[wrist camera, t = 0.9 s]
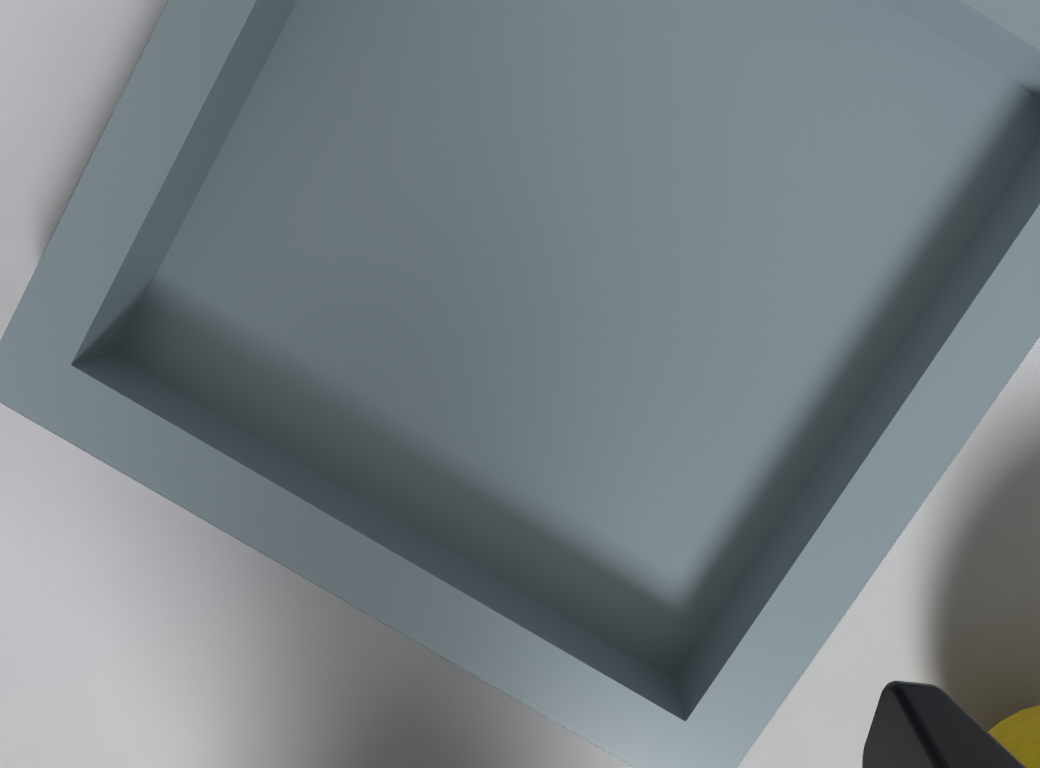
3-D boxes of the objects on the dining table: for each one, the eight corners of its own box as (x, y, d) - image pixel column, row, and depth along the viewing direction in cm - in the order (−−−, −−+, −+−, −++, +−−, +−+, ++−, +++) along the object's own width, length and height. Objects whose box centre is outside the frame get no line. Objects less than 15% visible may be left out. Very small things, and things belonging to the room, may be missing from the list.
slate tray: (689, 736, 24) (707, 809, 21) (52, 368, 23) (-23, 389, 20) (1134, 89, 21) (1229, 66, 18) (420, -359, 20) (395, -462, 17)
